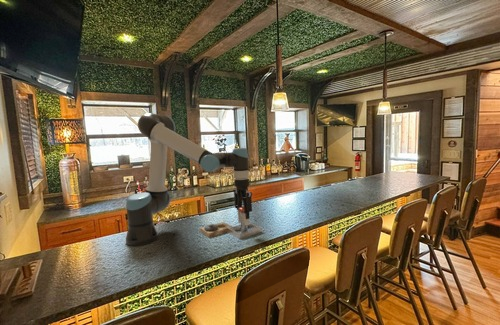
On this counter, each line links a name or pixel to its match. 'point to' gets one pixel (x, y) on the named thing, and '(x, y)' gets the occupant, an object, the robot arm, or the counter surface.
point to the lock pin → (242, 220)
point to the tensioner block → (215, 229)
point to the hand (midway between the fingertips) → (243, 223)
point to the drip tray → (241, 235)
